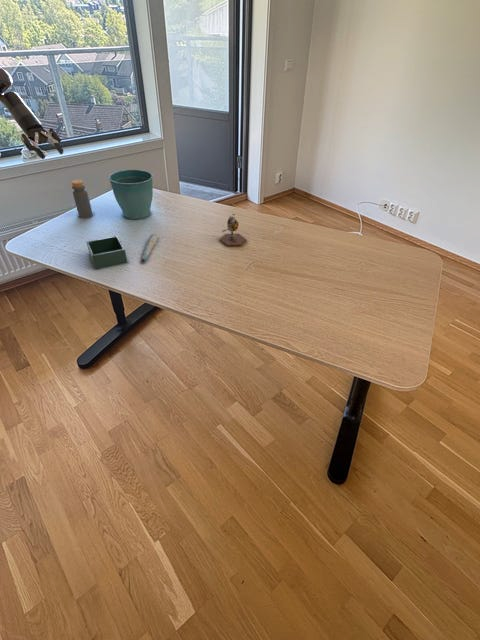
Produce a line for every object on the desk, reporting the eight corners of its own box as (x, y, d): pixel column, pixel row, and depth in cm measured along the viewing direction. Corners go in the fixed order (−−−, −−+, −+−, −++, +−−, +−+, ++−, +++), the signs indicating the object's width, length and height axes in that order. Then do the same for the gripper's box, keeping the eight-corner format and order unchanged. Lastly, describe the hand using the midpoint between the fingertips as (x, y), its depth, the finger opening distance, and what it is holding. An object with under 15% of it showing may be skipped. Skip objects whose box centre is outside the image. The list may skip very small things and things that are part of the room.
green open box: (95, 269, 122) (92, 256, 119) (89, 255, 130) (86, 241, 126) (127, 263, 127) (124, 249, 123) (120, 249, 134) (117, 235, 130)
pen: (150, 238, 141) (149, 232, 139) (158, 239, 141) (157, 232, 139) (138, 264, 127) (137, 257, 125) (147, 264, 127) (146, 257, 125)
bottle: (90, 218, 152) (81, 184, 142) (77, 218, 152) (67, 183, 142) (94, 213, 157) (86, 179, 147) (81, 212, 157) (72, 178, 147)
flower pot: (116, 207, 162) (109, 169, 151) (155, 205, 166) (151, 168, 155) (115, 224, 149) (107, 184, 138) (158, 221, 153) (153, 182, 142)
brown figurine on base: (229, 232, 148) (229, 205, 140) (248, 238, 145) (250, 210, 137) (216, 243, 140) (216, 215, 132) (237, 249, 138) (238, 221, 130)
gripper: (11, 116, 133) (39, 153, 136) (44, 110, 142) (70, 146, 146) (8, 129, 138) (36, 165, 142) (40, 123, 148) (65, 157, 151)
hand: (53, 155), depth 144 cm, fingers open, 8 cm apart
